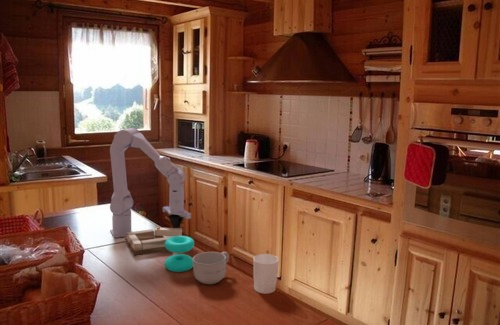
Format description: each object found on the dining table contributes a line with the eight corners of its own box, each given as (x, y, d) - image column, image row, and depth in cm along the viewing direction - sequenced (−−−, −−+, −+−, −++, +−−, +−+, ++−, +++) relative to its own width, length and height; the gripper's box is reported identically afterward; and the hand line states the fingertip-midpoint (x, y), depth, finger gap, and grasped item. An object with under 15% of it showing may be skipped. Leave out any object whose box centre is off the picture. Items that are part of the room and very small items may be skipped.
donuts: (175, 232, 151) (199, 237, 147) (175, 259, 153) (199, 264, 149) (158, 241, 142) (183, 247, 138) (158, 269, 144) (183, 275, 140)
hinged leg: (154, 235, 169) (154, 228, 168) (155, 233, 171) (155, 226, 171) (181, 236, 169) (181, 228, 169) (181, 234, 172) (181, 226, 171)
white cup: (248, 284, 135) (249, 255, 133) (271, 281, 138) (272, 252, 136) (257, 296, 128) (259, 265, 126) (281, 292, 131) (283, 262, 129)
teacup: (204, 291, 130) (204, 266, 128) (185, 278, 138) (186, 255, 137) (240, 279, 139) (240, 256, 137) (220, 267, 147) (221, 245, 145)
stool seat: (125, 243, 166) (125, 232, 165) (160, 238, 172) (160, 227, 172) (134, 256, 154) (134, 244, 153) (171, 250, 160) (171, 239, 159)
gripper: (156, 198, 171) (157, 230, 174) (181, 205, 163) (181, 238, 165) (170, 195, 177) (170, 226, 179) (194, 201, 168) (194, 234, 171)
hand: (176, 232), depth 173 cm, fingers closed, pressing on hinged leg
